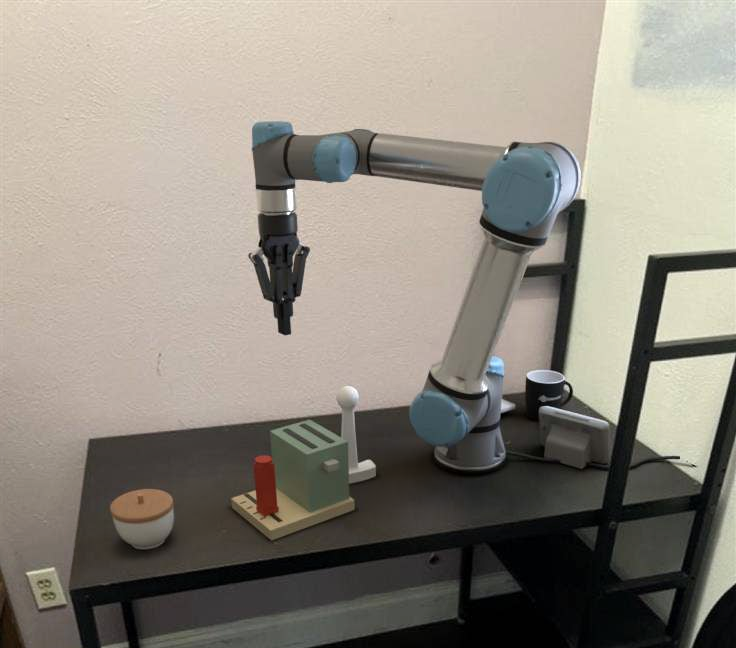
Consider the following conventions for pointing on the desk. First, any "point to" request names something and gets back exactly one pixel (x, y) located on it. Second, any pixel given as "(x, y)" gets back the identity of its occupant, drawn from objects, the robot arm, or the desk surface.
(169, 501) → the trinket box
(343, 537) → the desk surface
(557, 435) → the digital clock
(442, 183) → the robot arm
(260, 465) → the slider
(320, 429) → the toaster
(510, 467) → the desk surface
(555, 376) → the mug
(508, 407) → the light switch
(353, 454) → the joystick
